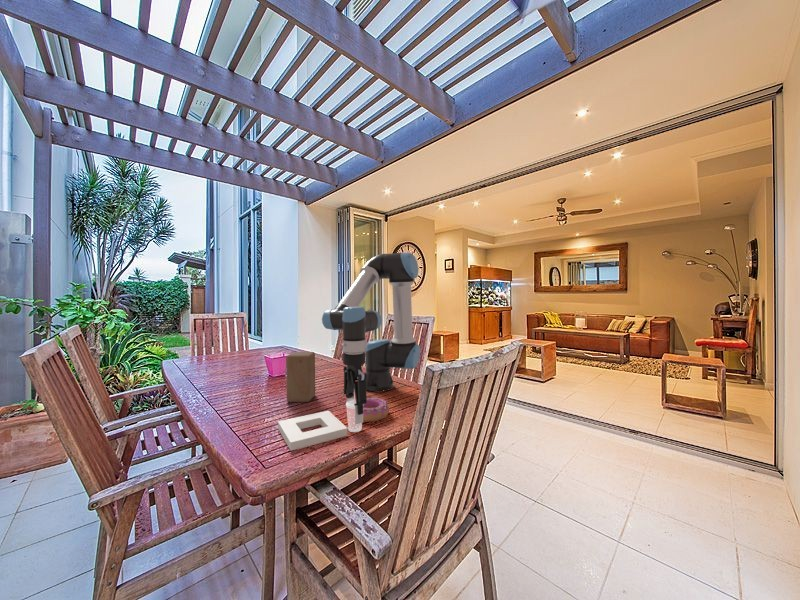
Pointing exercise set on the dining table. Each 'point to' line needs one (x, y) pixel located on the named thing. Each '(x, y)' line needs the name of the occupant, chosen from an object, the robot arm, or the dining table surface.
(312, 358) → the wooden block
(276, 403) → the dining table surface
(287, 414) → the dining table surface
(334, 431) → the socket plate
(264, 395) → the dining table surface
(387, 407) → the donut
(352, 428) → the beverage cup
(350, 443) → the dining table surface
